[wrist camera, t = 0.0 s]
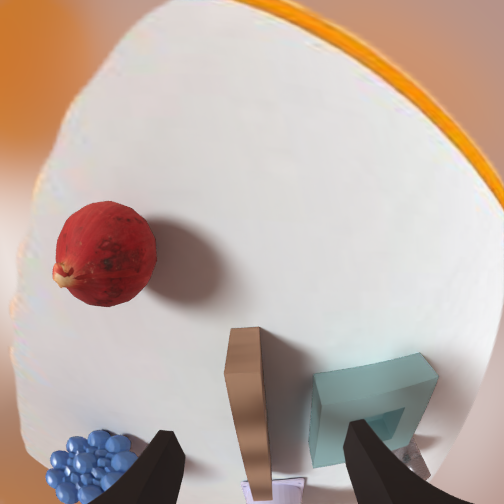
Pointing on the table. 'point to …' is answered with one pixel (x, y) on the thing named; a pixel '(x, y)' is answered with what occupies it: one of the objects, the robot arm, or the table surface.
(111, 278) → the onion
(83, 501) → the grapes
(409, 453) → the dowel
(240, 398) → the wall
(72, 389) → the table surface
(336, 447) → the block
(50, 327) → the table surface
